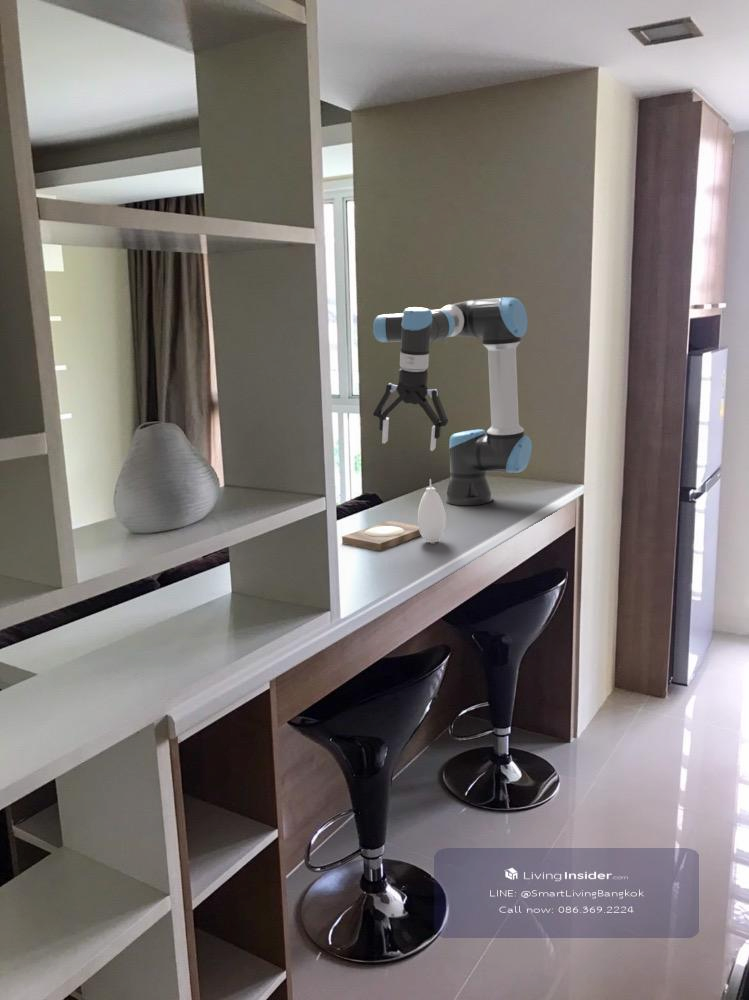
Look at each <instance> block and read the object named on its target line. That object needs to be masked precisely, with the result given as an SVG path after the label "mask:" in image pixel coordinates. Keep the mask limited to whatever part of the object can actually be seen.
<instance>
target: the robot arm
mask: <svg viewBox="0 0 749 1000" xmlns="http://www.w3.org/2000/svg"><path fill="white" fill-rule="evenodd" d="M527 315H528V314H527V311H526V308H525V305H524V304H523V302H522V301H520V300H519V299H518V298H515V297H505V296H504V297H495V298H493V297H492V298H481V299H480V298H478V299H476V298H475V299H467V300H465V301H461V302H456V303H453V304H447V305H444V306H442V307H441V308H438V309H430V308H426V307H419V306H418V307H417V306H413V307H407V308H405V309H404V310H403V312H400V313H389V314H388V313H386V314H380V315H377V316H376V317H375V319H374V321H373V323H372V328H373V329H372V331H373V332H372V333H373V337H374V338H375V340H376V341H378V342H380V343H398V342H399V343H400V342H401V343H400V353H399V366H400V368H399V369H398V385H397V384H394V383H393V382H389V383H388V384H386V387H385V392H384V394H383V396H382V397H381V399H380V401H379V403H378V405H377V406H376V408H375V410H374V411H373V414H372V415H373V416H374V417H377V418H378V419H379V431H382V435H381V436H382V437H381V438H382V439H381V444H386V443H387V442H388V439H389V425H390V424H389V422H390V417H388V415H389V414H390V413H391V412H393V411H394V409H395V408H397V406H398V405H399V404H400V403H401V402H403V403H405V404H412V405H419V406H420V408H422V409H423V411H424V412H425V414H426V416H428V418H429V420H430V422H431V423H432V424H433V425H432V426H431V432H430V434H431V436H430V437H431V438H430V445H429V446H430V448H429V449H430V450H429V451H431V452H433V451H434V450H435V449H436V447H437V445H436V444H437V439H439V438H440V436H441V428H442V427H446V426H447V425H448V424H449V419H448V417H447V415H446V412H445V409H444V407H443V403H442V402H441V399H440V396H439V392H440V391H439V389H438V388H434V389H431V388H430V389H428V373H429V371H428V368H429V363H430V348H431V345H430V344H431V343H434V342H437V341H443V340H446V339H448V338H451V337H462V338H470V339H471V338H472V339H473V338H475V339H479V338H480V339H482V346H483V347H484V348H486V349H487V357H488V358H487V359H488V360H487V364H488V380H489V381H488V383H489V384H488V385H489V401H490V402H489V403H490V407H489V408H490V421H491V422H490V424H491V425H490V427H489V428H488V429H487V430H486V431H485V429H471V430H465V431H460V432H456V433H453V434H452V435H451V436H450V438H449V447H448V450H449V466H450V467H449V470H450V471H449V473H450V477H449V478H450V479H449V483H448V485H447V486H448V487H447V489H446V494H445V502H446V503H448V504H450V505H456V506H477V505H484V504H488V503H491V502H492V501H493V493H492V491H491V488H490V485H489V481H488V479H487V472H498V473H507V474H511V473H513V474H515V473H516V474H517V473H522V472H523V471H524V470H525V469H526V468H527V466H528V464H529V462H530V459H531V455H532V451H533V444H532V440H531V438H530V437H529V436H527V435H525V429H524V427H522V426H521V425H520V421H519V420H520V419H519V417H520V416H519V399H518V398H519V396H518V395H519V394H518V393H519V392H518V368H517V347H518V345H520V343H521V341H522V340H521V338H522V337H524V336H525V335H526V333H527V331H528V322H529V321H528V316H527ZM395 391H396V392H397V394H398V395H399V396H398V397H397V398H396V399H395V400H394V401H393V402H392V403H391V404H390V405H389V406H388V407H387V408H386V409H385V410H384V407H385V406H386V404H387V402H388V400H389V398H390V397H391V396H392V393H394V392H395ZM427 395H429V397H430V398H431V400H432V403H433V405H434V409H435V411H434V409H433V408H432V406H431V405H430V404H429V401H428V399H427V397H426V396H427ZM382 410H384V411H383V412H382Z"/></svg>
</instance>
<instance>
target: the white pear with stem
mask: <svg viewBox="0 0 749 1000" xmlns="http://www.w3.org/2000/svg"><path fill="white" fill-rule="evenodd" d="M416 522H417V526H418V528H419V532H420V534H421V536H420V537H422V539H423V540H425V542H427V543H429V542H430V543H429V544H435V543H434V542H436V543H439V541H440V539H442V538H443V536H444V534H445V532H446V527H447V515H446V509H445V506H444V503H443V501H442V498H441V496H440V495H439V493H438V491H436V488H435V487H433V486H432V479H431V478H429V487H426V488H425V491H424V493H423V495H422V497H421V499H420V502H419V506H418V509H417V521H416Z"/></svg>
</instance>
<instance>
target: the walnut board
mask: <svg viewBox="0 0 749 1000" xmlns="http://www.w3.org/2000/svg"><path fill="white" fill-rule="evenodd" d="M420 535H421V534H420V532H419V528H418V525H415V524H409V523H404V522H398V521H392V520H388V521H385V522H382V523H379V524H375V525H373V526H370V527H369V526H368V527H366V528H362V529H361V530H358V531H354V532H351V533H348V534H345V535H343V536H341V540H342V541H341V543H342V544H343V545H348V544H351V545H350V546H353V545H354V547H358V546H359V547H360V548H363V549H368V550H373V551H379V552H381V551H384V550H386V549H389V548H391V547H394V546H397V544H398V545H401V544H403V543H406V542H408V541H407V540H409V541H411V540H413V539H412V538H414V537H417V536H420ZM420 537H421V536H420ZM417 538H418V537H417ZM410 539H411V540H410ZM414 539H415V538H414ZM405 541H406V542H405ZM402 542H403V543H402ZM344 543H346V544H344ZM383 549H384V550H383Z"/></svg>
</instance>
